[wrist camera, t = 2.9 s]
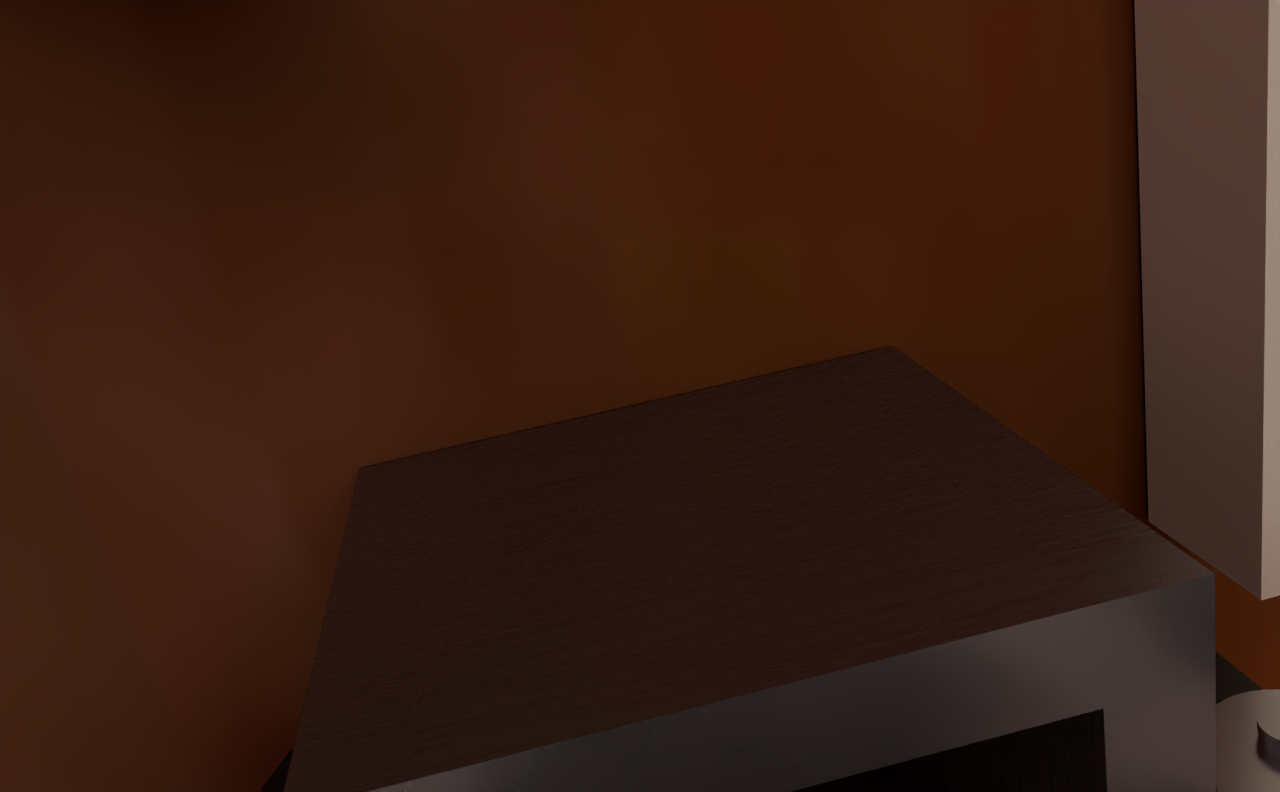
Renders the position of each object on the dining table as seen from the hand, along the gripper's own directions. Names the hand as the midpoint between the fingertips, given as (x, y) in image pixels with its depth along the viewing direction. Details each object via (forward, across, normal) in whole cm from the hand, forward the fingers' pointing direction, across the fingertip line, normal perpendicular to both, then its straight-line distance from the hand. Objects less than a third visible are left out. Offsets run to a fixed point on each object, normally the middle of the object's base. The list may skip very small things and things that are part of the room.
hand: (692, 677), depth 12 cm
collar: (+1, 0, 0) cm, 1 cm away
